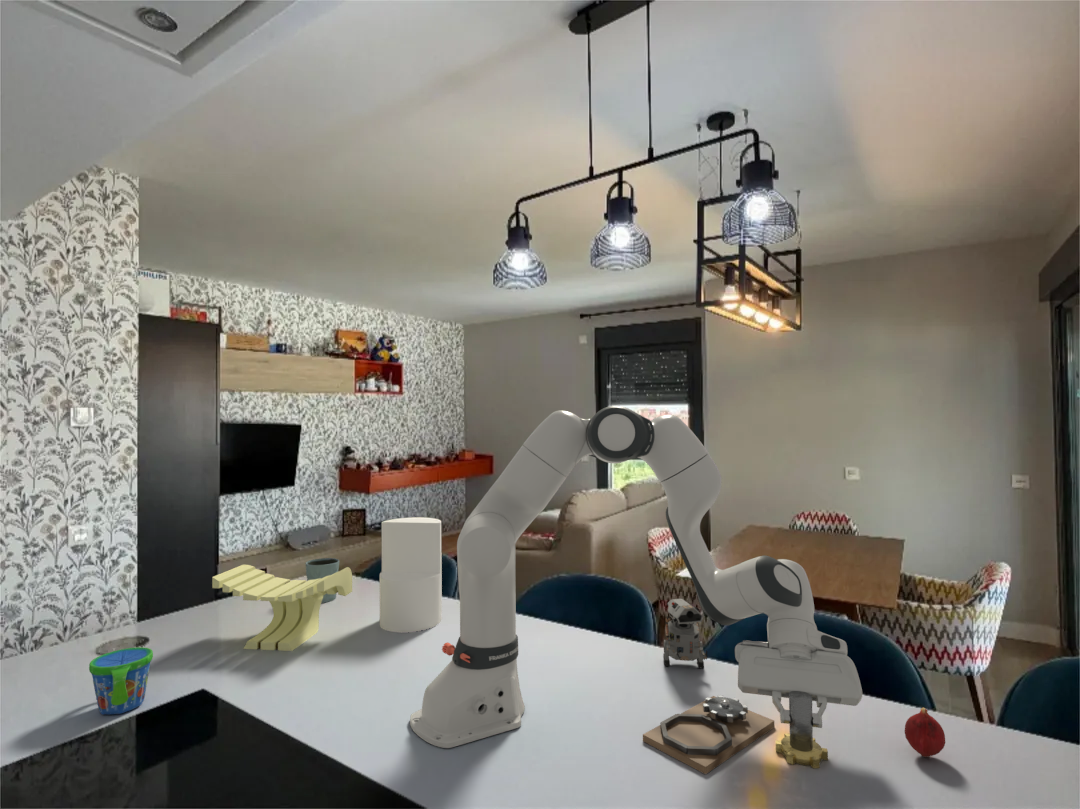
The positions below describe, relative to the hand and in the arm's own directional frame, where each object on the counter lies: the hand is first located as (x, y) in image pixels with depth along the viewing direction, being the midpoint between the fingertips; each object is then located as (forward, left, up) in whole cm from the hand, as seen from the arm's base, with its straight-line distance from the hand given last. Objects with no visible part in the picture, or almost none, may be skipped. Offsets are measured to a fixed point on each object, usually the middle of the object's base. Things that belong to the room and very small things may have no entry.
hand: (801, 724), depth 101 cm
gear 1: (0, +14, -4) cm, 15 cm away
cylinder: (-17, +104, -6) cm, 106 cm away
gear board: (-5, +14, -5) cm, 16 cm away
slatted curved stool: (-48, +115, -6) cm, 125 cm away
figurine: (+15, +34, -6) cm, 38 cm away
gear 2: (+1, 0, -5) cm, 5 cm away
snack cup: (-85, +98, -6) cm, 130 cm away
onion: (+16, -14, -6) cm, 21 cm away
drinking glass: (-28, +142, -6) cm, 145 cm away
